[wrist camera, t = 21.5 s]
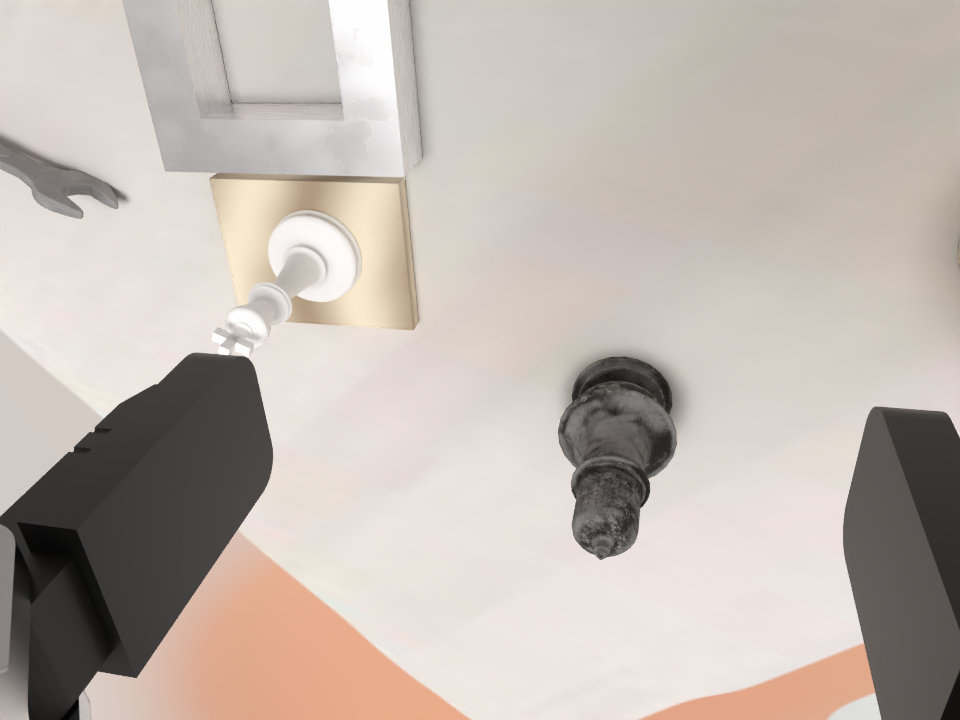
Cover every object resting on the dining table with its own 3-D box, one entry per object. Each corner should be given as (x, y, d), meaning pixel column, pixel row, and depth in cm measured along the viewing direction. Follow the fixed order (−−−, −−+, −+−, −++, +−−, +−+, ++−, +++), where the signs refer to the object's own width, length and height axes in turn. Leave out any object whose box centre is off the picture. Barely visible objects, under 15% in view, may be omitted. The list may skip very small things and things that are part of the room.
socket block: (397, -136, 33) (373, -136, 30) (422, 157, 39) (404, 177, 36) (134, -120, 35) (92, -119, 33) (197, 152, 41) (165, 171, 39)
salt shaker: (547, 375, 44) (505, 526, 34) (647, 335, 41) (634, 486, 31) (597, 456, 46) (571, 621, 36) (696, 423, 43) (697, 591, 33)
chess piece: (282, 194, 40) (176, 279, 32) (373, 233, 40) (290, 329, 32) (263, 275, 43) (161, 373, 35) (348, 312, 43) (267, 419, 35)
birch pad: (404, 177, 39) (398, 183, 39) (418, 321, 44) (413, 330, 43) (218, 172, 41) (209, 178, 41) (248, 310, 46) (240, 318, 45)
